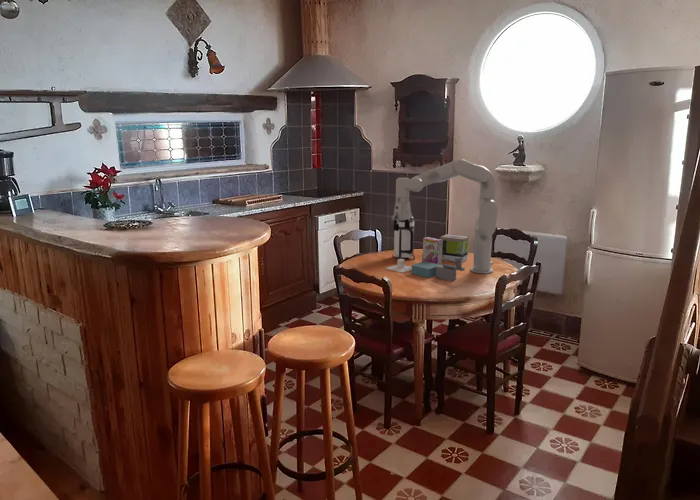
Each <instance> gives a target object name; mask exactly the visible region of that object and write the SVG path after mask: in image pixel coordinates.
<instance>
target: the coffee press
mask: <svg viewBox="0 0 700 500" xmlns="http://www.w3.org/2000/svg"><path fill="white" fill-rule="evenodd" d="M396 221H397V220H396ZM415 221H416V219H415V218H414V216H413V215H412V216H411V219H410V228H409V229H408V228H405V220H402V221H401V220H400V221H399V223H398V224H399V231H395V230H393V231H394V233H393V234H394V236H393V242H394V243H393V246H394V247H393V254H392V255H391V256H392V258H395V257H396V258H397V260H398V259H407V258H409V259H412V260H415V259H416V257H415V255H414V249H415V248H414V247H415V246H414V244H415V243H414V242H415Z"/></svg>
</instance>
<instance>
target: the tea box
mask: <svg viewBox="0 0 700 500" xmlns="http://www.w3.org/2000/svg"><path fill="white" fill-rule="evenodd" d="M439 239H440V240H443V246H442V261H446V262H447V261H449V262H454V263H456V261H455V259H456V258H459V257H463V260H462V263H464V262H466V261H467V260H468V253H469V236H466V235H457V234H456V235H455V234H444V235H441V236H440V237H439Z"/></svg>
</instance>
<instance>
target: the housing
mask: <svg viewBox="0 0 700 500" xmlns="http://www.w3.org/2000/svg"><path fill="white" fill-rule="evenodd" d="M443 265H444V264H442V265H439V264H435V263H430V262H426V261H424V262H422V261H421V262H417V263H414V264H412V265H411V267H412V270H411V271H410V272H411V274H412V275H415V276H420V277H424V278H428V279H429V278H433V277H435V278H437V279H441V280H444V281H448V282H449V281H450V282H452V281H455V280H456V279H457V270H455V269H450V268H446V267H443Z"/></svg>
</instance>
